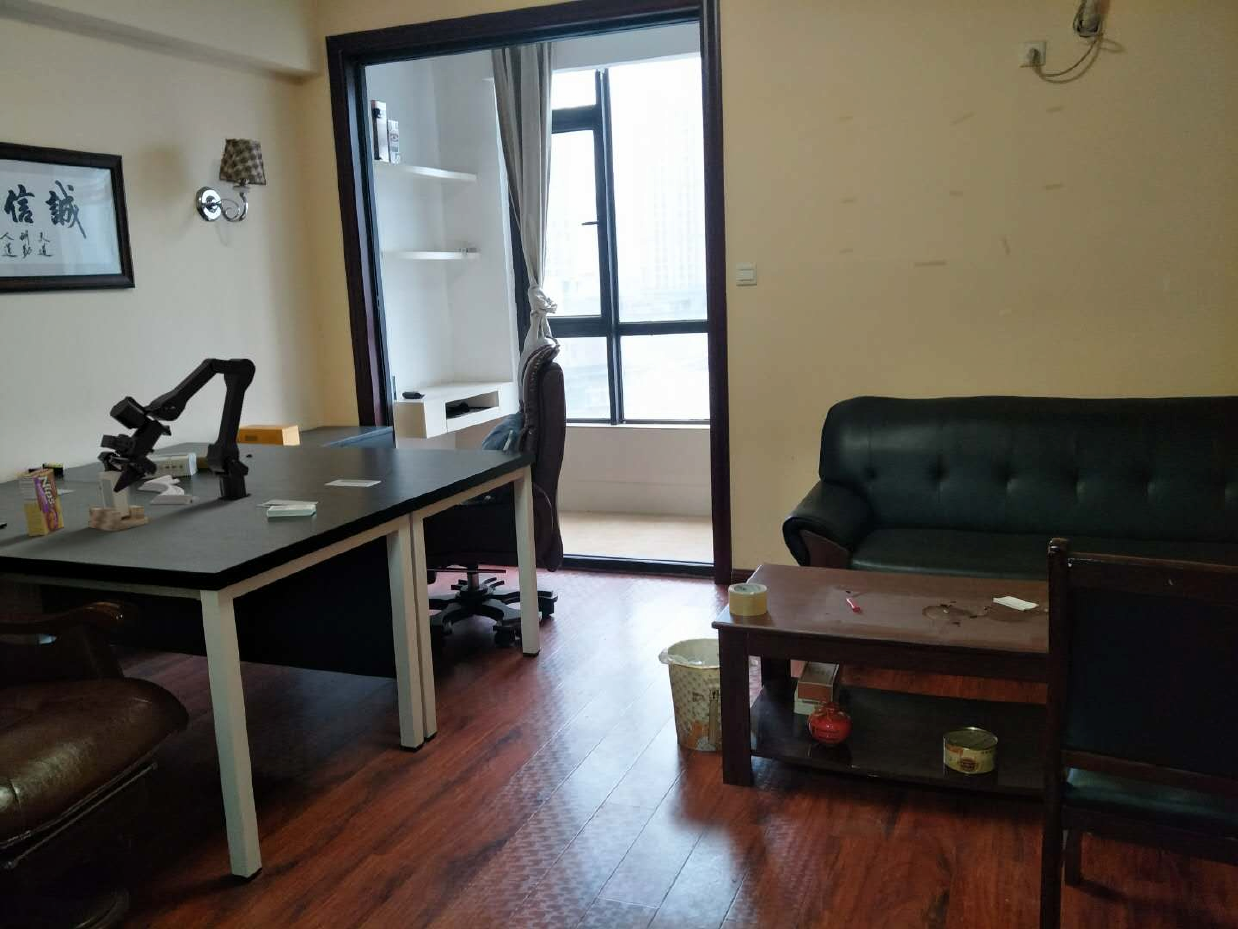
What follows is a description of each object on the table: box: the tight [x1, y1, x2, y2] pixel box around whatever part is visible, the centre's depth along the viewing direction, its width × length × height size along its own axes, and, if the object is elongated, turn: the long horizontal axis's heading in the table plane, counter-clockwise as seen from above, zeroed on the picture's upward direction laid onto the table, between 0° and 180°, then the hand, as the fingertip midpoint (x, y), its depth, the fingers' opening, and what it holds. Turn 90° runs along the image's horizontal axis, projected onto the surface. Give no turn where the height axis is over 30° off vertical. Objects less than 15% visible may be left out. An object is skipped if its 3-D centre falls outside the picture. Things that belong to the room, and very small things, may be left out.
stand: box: [87, 503, 149, 532], centre depth 255 cm, size 12×9×4 cm
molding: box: [138, 474, 200, 505], centre depth 293 cm, size 42×12×3 cm, turn 32°
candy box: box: [17, 468, 65, 537], centre depth 251 cm, size 9×4×15 cm, turn 0°
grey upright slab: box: [98, 471, 129, 517], centre depth 254 cm, size 6×3×11 cm, turn 55°
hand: (108, 490), depth 252 cm, fingers closed on grey upright slab, 6 cm apart
